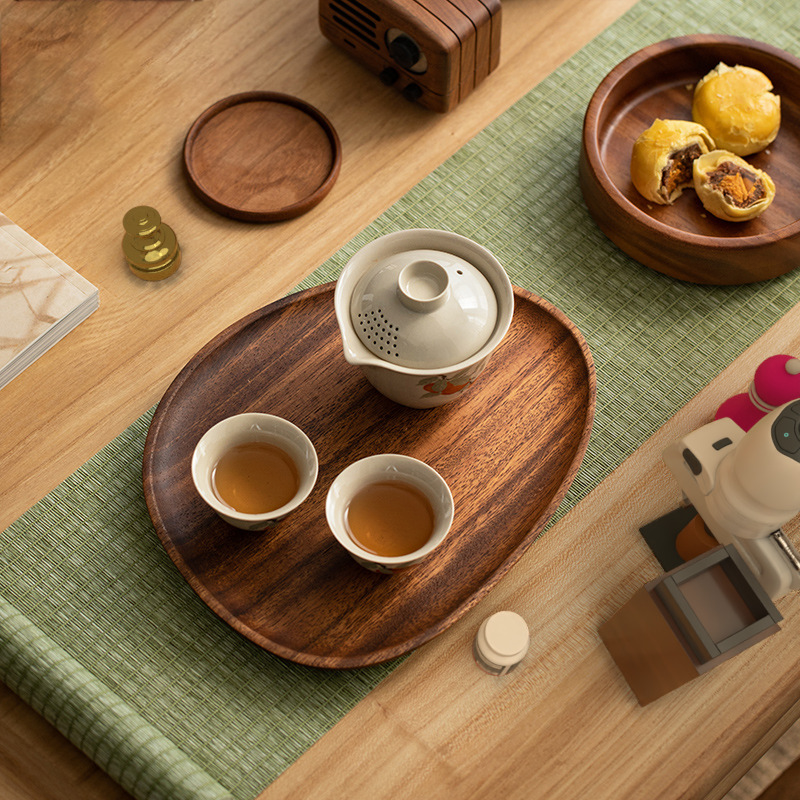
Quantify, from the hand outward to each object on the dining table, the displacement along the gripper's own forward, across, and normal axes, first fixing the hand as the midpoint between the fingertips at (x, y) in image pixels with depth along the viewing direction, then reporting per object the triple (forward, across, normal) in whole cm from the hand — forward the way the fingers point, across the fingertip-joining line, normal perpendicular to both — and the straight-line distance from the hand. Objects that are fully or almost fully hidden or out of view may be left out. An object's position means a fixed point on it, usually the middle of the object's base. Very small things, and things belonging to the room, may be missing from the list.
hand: (707, 535), depth 108 cm
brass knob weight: (+5, +68, +44) cm, 81 cm away
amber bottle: (+4, 0, 0) cm, 4 cm away
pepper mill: (+5, +10, -13) cm, 17 cm away
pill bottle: (+5, 0, +28) cm, 28 cm away
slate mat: (+4, 0, 0) cm, 4 cm away
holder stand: (+4, -8, +12) cm, 15 cm away
